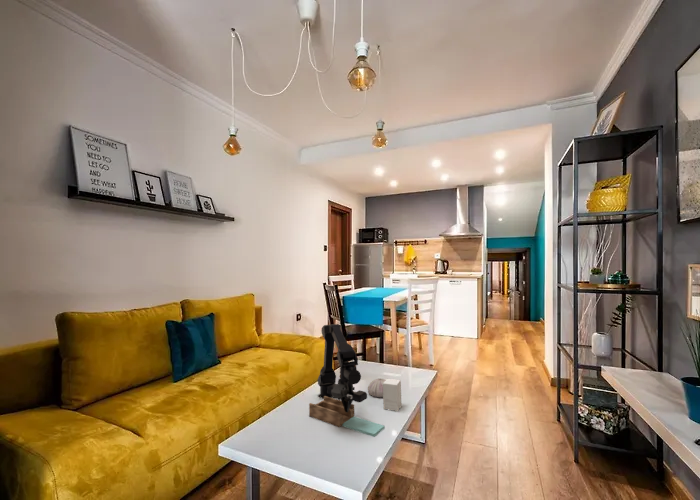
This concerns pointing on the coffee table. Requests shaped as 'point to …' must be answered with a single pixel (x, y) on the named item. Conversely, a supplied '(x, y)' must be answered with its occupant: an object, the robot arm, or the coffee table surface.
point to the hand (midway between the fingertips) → (346, 412)
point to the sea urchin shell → (376, 387)
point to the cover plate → (363, 426)
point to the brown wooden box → (331, 411)
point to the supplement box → (392, 394)
